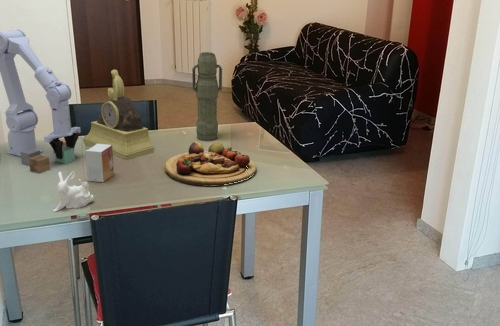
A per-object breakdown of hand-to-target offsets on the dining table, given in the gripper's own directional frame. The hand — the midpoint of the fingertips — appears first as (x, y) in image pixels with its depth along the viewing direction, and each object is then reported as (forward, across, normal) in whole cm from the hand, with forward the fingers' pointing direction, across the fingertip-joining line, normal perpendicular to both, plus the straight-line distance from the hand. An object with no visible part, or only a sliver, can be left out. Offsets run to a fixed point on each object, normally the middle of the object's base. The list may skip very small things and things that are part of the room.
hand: (65, 156), depth 181 cm
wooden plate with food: (+2, +21, -48) cm, 53 cm away
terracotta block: (+2, +6, +8) cm, 10 cm away
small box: (+2, -5, -22) cm, 23 cm away
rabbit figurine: (+2, -24, -30) cm, 38 cm away
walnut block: (+2, -11, 0) cm, 11 cm away
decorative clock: (+2, +22, -5) cm, 22 cm away
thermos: (+2, +51, -27) cm, 58 cm away
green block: (+2, 0, 0) cm, 2 cm away
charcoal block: (+2, -8, +8) cm, 11 cm away
